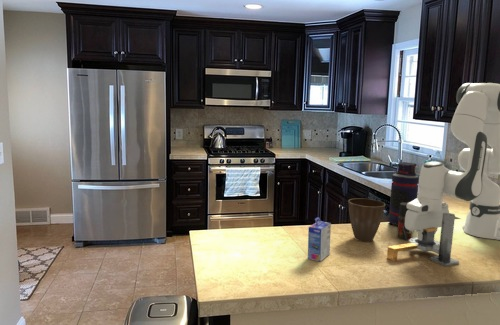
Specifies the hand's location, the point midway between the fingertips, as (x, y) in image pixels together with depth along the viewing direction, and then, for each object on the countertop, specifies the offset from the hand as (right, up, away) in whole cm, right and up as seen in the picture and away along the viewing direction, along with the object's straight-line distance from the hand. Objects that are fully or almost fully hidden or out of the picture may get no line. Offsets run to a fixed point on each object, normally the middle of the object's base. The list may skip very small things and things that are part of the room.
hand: (425, 239), depth 159 cm
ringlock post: (-4, -6, -5) cm, 9 cm away
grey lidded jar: (0, -4, +1) cm, 4 cm away
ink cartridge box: (-42, -6, -6) cm, 43 cm away
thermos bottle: (+6, 0, +40) cm, 40 cm away
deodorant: (-1, -3, +19) cm, 19 cm away
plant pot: (-20, -3, +16) cm, 25 cm away
